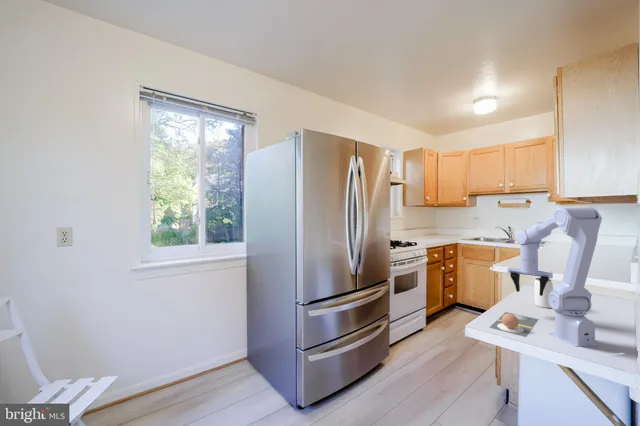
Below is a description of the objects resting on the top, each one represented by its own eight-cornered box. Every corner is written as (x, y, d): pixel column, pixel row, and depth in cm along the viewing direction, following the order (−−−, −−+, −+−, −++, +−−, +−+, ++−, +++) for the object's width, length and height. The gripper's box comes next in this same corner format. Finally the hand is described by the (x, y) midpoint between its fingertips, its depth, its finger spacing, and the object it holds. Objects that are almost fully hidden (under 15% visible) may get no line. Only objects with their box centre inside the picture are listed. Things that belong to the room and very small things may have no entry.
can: (556, 309, 121) (556, 281, 121) (539, 308, 122) (539, 280, 122) (547, 304, 127) (547, 277, 127) (531, 303, 129) (531, 277, 129)
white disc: (529, 332, 98) (529, 331, 98) (508, 333, 97) (508, 333, 97) (511, 323, 106) (511, 322, 106) (492, 324, 105) (492, 323, 105)
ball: (522, 330, 99) (522, 316, 99) (509, 331, 98) (508, 317, 98) (511, 324, 104) (511, 311, 104) (498, 325, 103) (498, 311, 103)
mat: (525, 338, 94) (525, 336, 94) (489, 328, 102) (489, 327, 102) (538, 320, 109) (538, 318, 109) (505, 313, 117) (505, 311, 117)
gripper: (553, 260, 111) (554, 294, 111) (510, 256, 121) (510, 287, 121) (550, 263, 106) (551, 298, 106) (506, 258, 116) (506, 291, 116)
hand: (529, 293), depth 113 cm, fingers open, 7 cm apart
